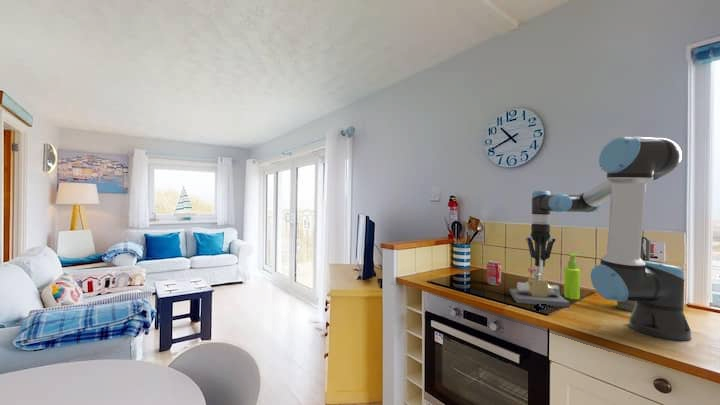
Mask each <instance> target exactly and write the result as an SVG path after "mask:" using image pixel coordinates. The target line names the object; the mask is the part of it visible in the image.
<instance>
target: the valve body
mask: <svg viewBox="0 0 720 405" xmlns="http://www.w3.org/2000/svg"><path fill="white" fill-rule="evenodd" d="M516 289H517V293H518V294H527V295H529V296H534V297H546V298H547V297H550V296H553V297H559V295H561V293H560V287H559V285H558V284H549V282H548V281H547V280H546V279H545V278H543V277H528V281H527V280H526V282H521V281H519V282H516Z"/></svg>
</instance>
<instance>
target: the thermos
mask: <svg viewBox="0 0 720 405" xmlns="http://www.w3.org/2000/svg"><path fill="white" fill-rule="evenodd" d="M644 234H645V232H644V229H642V241H641V253H640V258H641V259H642V260H643V261H649V262H651V245H652V244H651V243H652V242H651V241H652V240H651V239H650V238H649V237H648V236H645V235H644ZM644 240H645V249H644ZM635 305H636V301H623V302H622V301H616V308H617V309H619V308H620V309H619V310H622V309H623V310H622V311H625V310H626V312H630V311H632V312H633V310H634V308H635Z"/></svg>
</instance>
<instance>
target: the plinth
mask: <svg viewBox="0 0 720 405" xmlns="http://www.w3.org/2000/svg"><path fill="white" fill-rule="evenodd" d="M509 294H510V295H511V297H512V298H513V299H514V301H515V302H516V303H517V304H526V305H527V304H528V305H537V304H547V305H546V306H548V305H550V306H551V307H561V308H570V306H571V304H570V303H571V302H569V300H567V299H566V298H565V297H563V295H561V294H560V295H559V297H553V296H550V297H547V298H546V297H534V296H529V295H527V294H518V293H517V288H509Z"/></svg>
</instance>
